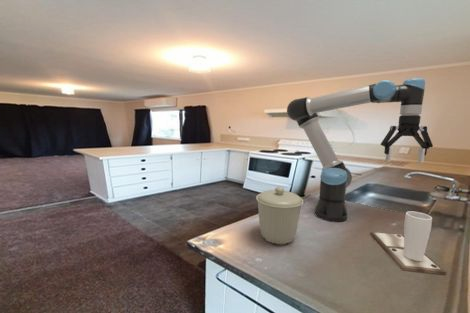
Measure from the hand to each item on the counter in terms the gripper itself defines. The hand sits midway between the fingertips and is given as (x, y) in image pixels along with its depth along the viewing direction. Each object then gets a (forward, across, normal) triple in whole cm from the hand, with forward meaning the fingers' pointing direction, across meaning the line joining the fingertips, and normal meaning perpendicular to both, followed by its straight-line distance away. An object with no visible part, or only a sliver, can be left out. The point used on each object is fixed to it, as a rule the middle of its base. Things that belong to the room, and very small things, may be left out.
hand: (403, 161), depth 100 cm
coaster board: (+29, +12, +28) cm, 42 cm away
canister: (+29, +57, +27) cm, 69 cm away
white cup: (+28, +12, +34) cm, 46 cm away
